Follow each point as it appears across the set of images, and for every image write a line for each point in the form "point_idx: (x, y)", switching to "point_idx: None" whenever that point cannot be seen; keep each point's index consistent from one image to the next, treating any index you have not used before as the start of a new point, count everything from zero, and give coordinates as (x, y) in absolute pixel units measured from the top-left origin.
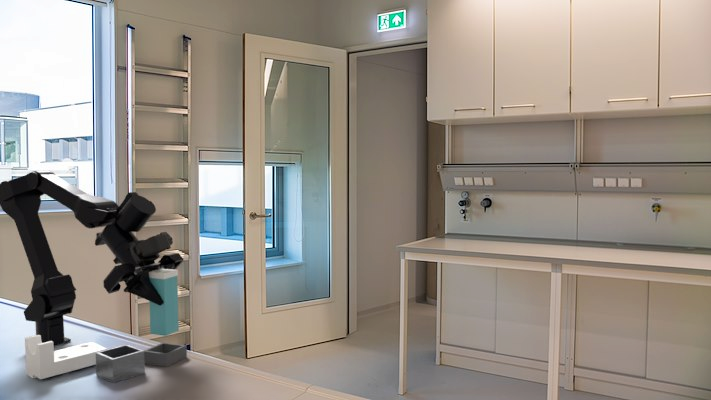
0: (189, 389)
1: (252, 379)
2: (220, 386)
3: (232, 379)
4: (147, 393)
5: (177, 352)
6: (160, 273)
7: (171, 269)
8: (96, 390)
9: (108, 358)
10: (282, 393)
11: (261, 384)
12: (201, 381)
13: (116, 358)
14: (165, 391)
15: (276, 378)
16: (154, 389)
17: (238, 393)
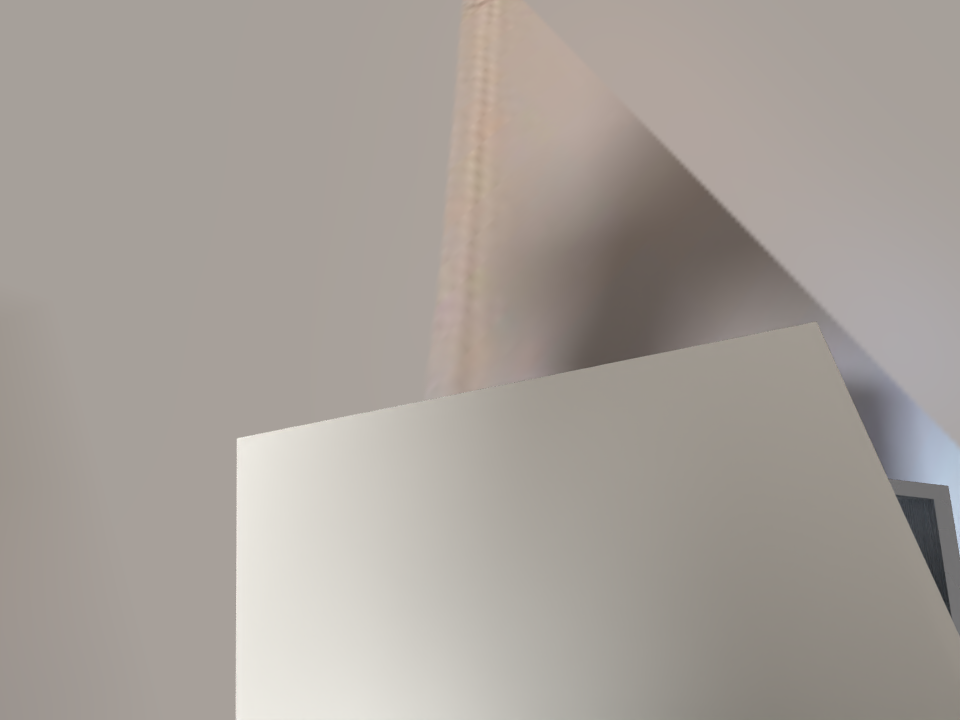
0: (685, 210)
1: (511, 130)
2: (606, 159)
3: (544, 171)
4: (805, 290)
5: None
6: (866, 467)
7: (262, 665)
8: (948, 479)
9: (952, 531)
10: (542, 20)
11: (526, 90)
12: (615, 231)
13: (920, 483)
14: (750, 256)
15: (469, 90)
16: (767, 299)
17: (611, 91)
